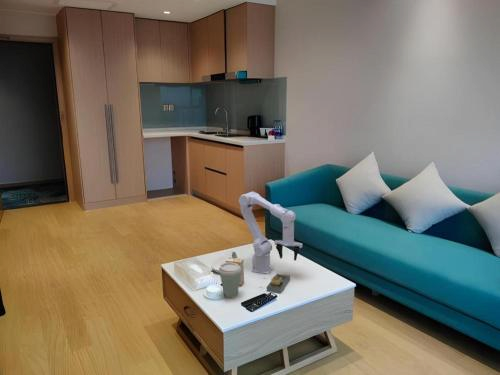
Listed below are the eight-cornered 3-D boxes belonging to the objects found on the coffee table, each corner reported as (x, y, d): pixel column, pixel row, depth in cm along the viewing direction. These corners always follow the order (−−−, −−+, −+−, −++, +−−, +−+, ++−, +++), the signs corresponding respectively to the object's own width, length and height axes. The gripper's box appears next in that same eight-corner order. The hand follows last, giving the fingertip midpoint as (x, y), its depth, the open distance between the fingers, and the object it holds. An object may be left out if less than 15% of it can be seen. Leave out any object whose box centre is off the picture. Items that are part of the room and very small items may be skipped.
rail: (266, 291, 188) (266, 286, 187) (277, 277, 202) (277, 273, 202) (280, 293, 185) (280, 288, 185) (289, 279, 200) (289, 275, 199)
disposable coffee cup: (244, 290, 189) (243, 262, 186) (238, 301, 179) (237, 271, 176) (223, 288, 191) (222, 260, 188) (216, 299, 181) (215, 269, 178)
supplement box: (244, 282, 198) (244, 258, 195) (241, 286, 193) (240, 262, 191) (229, 280, 200) (228, 256, 198) (226, 284, 196) (225, 260, 193)
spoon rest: (228, 276, 205) (228, 264, 204) (208, 274, 209) (207, 262, 207) (242, 260, 227) (242, 248, 226) (224, 258, 231) (223, 246, 229)
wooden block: (271, 289, 190) (271, 278, 189) (274, 286, 193) (273, 275, 192) (279, 290, 188) (279, 279, 187) (281, 287, 192) (281, 276, 191)
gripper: (272, 235, 198) (272, 259, 201) (299, 238, 193) (299, 263, 195) (276, 230, 204) (276, 255, 207) (303, 233, 199) (303, 258, 202)
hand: (288, 258), depth 202 cm, fingers open, 7 cm apart
